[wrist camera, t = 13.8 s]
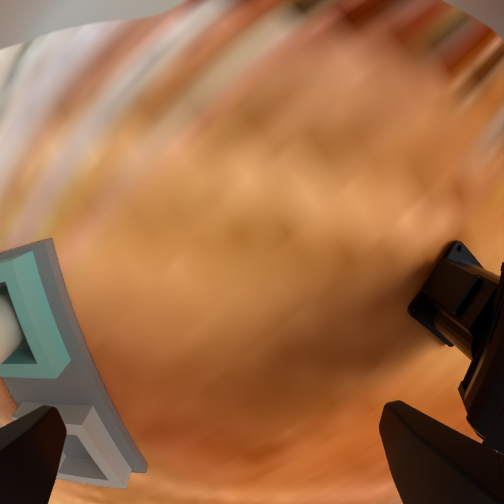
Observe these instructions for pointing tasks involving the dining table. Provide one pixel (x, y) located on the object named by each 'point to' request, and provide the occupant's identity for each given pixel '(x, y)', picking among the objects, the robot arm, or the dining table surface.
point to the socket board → (62, 372)
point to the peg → (9, 326)
